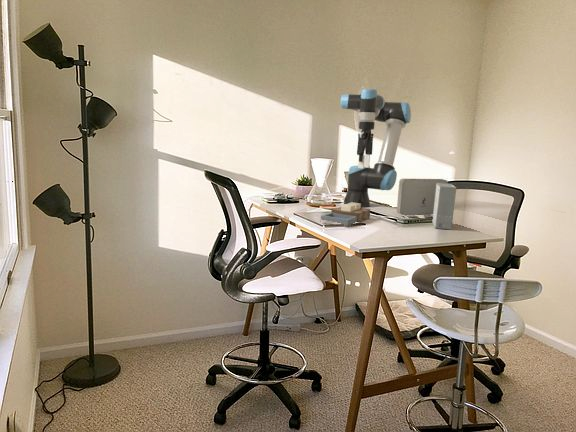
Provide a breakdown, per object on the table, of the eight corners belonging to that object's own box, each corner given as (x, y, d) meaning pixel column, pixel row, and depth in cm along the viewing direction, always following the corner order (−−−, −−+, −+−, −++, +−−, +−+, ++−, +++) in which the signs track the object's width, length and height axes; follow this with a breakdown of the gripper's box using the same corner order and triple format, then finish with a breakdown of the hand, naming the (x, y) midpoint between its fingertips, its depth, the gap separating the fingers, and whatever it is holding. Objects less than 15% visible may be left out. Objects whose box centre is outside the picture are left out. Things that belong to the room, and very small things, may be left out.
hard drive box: (451, 230, 216) (456, 187, 212) (434, 228, 218) (439, 186, 214) (447, 223, 231) (452, 183, 227) (431, 222, 233) (435, 182, 229)
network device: (401, 219, 237) (405, 180, 233) (393, 215, 245) (397, 177, 241) (446, 218, 243) (450, 180, 239) (437, 215, 251) (441, 178, 247)
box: (330, 219, 229) (330, 212, 228) (356, 223, 221) (357, 216, 220) (320, 222, 220) (320, 215, 220) (347, 227, 213) (347, 219, 212)
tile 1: (345, 208, 231) (345, 203, 230) (354, 210, 228) (355, 205, 228) (341, 210, 227) (341, 205, 226) (350, 211, 224) (350, 206, 224)
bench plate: (344, 215, 241) (345, 205, 240) (369, 219, 234) (370, 209, 233) (330, 219, 229) (331, 209, 228) (356, 223, 221) (357, 213, 220)
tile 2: (351, 207, 236) (351, 202, 236) (360, 208, 234) (360, 203, 233) (346, 208, 232) (347, 203, 232) (356, 209, 229) (356, 204, 229)
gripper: (367, 121, 241) (364, 166, 246) (351, 120, 225) (348, 168, 230) (381, 121, 237) (377, 167, 242) (366, 121, 221) (362, 169, 226)
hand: (363, 167), depth 236 cm, fingers open, 6 cm apart
